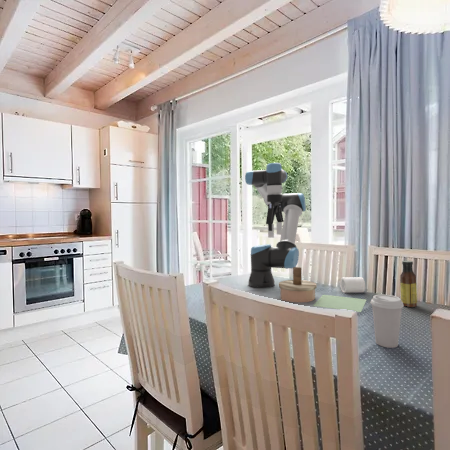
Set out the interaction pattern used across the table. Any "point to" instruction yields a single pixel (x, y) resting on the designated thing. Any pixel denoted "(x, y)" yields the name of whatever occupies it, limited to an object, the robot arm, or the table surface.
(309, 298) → the bowl
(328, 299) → the mat
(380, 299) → the coffee cup
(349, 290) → the mug
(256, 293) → the table surface
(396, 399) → the table surface
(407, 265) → the sauce bottle
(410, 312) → the table surface
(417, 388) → the table surface
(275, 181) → the robot arm
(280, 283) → the lid
